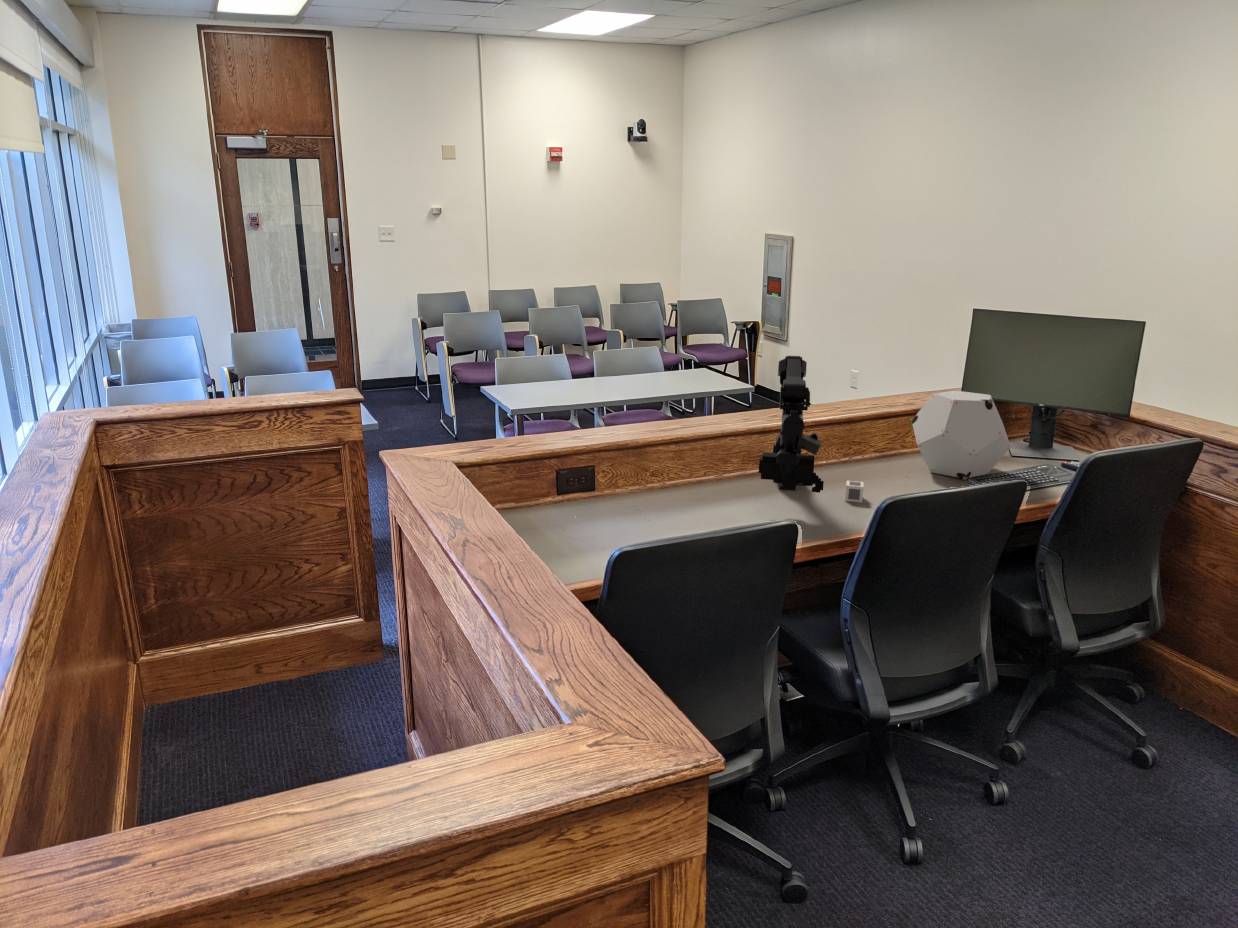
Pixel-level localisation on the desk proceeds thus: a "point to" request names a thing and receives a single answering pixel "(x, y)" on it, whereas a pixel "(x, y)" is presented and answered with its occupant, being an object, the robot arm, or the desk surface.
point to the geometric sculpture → (960, 434)
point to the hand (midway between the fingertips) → (788, 478)
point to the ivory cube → (854, 491)
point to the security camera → (799, 473)
